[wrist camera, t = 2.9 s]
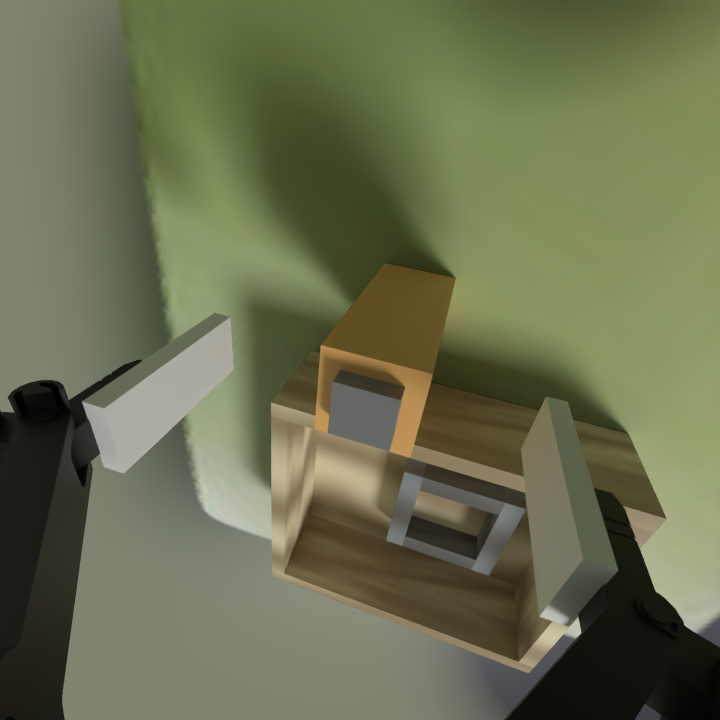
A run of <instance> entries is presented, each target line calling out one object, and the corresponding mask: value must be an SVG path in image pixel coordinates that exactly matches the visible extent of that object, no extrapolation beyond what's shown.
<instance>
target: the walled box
mask: <svg viewBox="0 0 720 720" xmlns="http://www.w3.org/2000/svg"><path fill="white" fill-rule="evenodd" d="M319 362H320V353H319V352H315V351H312V352H311V353H310V354H309V356H308V357H307V358H306V359H305V361H304V362H303V363H302V364H301V366H300V367H299V368H298V369H297V371H296V372H295V373H294V374H293V376H292V377H291V378H290V379H289V381H288V382H287V383H286V384H285V386H284V387H283V388H282V389H281V390H280V392H279V393H278V394H277V395H276V397H275V398H274V399H273V400H272V402H271V489H272V576H274V577H276V578H279V579H282V580H284V581H287V582H289V583H292V584H295V585H298V586H300V587H303V588H305V589H308V590H311V591H313V592H316V593H318V594H321V595H324V596H326V597H329V598H332V599H334V600H337V601H340V602H342V603H345V604H347V605H350V606H353V607H355V608H358V609H361V610H363V611H366V612H369V613H371V614H374V615H376V616H379V617H382V618H384V619H387V620H390V621H393V622H395V623H398V624H400V625H403V626H405V627H408V628H411V629H413V630H416V631H419V632H421V633H424V634H427V635H429V636H432V637H434V638H437V639H440V640H443V641H445V642H448V643H451V644H453V645H456V646H458V647H461V648H464V649H466V650H469V651H471V652H474V653H477V654H479V655H482V656H485V657H487V658H490V659H492V660H495V661H498V662H501V663H503V664H506V665H508V666H511V667H514V668H516V669H519V670H521V671H524V672H527V673H529V672H530V671H531V670H532V669H533V668H534V666H535V665H536V664H537V663H538V662H539V661H540V660H541V659H542V657H543V656H544V655H545V654H546V653H547V652H548V651H549V649H550V648H551V647H552V646H553V645H554V644H555V643H556V642H557V641H558V640H559V638H560V637H561V636H562V635H563V634H564V633H565V632H566V631H567V630H568V628H569V627H570V626H571V625H572V624H573V623H574V622H575V621H576V620H577V618H578V617H579V616H578V617H577V618H576V619H575V620H574V622H573V623H572V624H571V625H570V626H569V627H568V626H565V625H562V624H559V623H556V622H553V621H550V620H547V619H545V618H542V617H539V610H538V601H537V592H536V583H535V574H534V564H533V555H532V546H531V537H530V528H529V518H528V509H527V500H526V491H525V482H524V473H523V463H522V454H521V448H522V446H523V444H524V442H525V440H526V437H527V435H528V433H529V431H530V429H531V427H532V425H533V423H534V421H535V419H536V417H537V415H538V412H539V410H535V409H532V408H528V407H524V406H520V405H516V404H513V403H509V402H505V401H501V400H497V399H494V398H490V397H486V396H482V395H478V394H475V393H471V392H467V391H463V390H459V389H456V388H452V387H448V386H444V385H440V384H437V383H433V382H431V384H430V388H429V391H428V395H427V399H426V402H425V406H424V410H423V413H422V417H421V421H420V424H419V428H418V432H417V435H416V439H415V443H414V446H413V450H412V454H411V457H410V458H409V457H406V456H403V455H399V454H396V453H393V452H389V451H386V450H383V449H379V448H376V447H373V446H369V445H366V444H363V443H359V442H356V441H353V440H349V439H346V438H343V437H339V436H336V435H333V434H329V433H326V432H323V431H319V430H316V429H315V415H316V402H317V389H318V375H319ZM573 421H574V424H575V428H576V431H577V434H578V438H579V441H580V444H581V448H582V451H583V454H584V458H585V461H586V464H587V468H588V471H589V474H590V478H591V481H592V484H593V488H596V489H600V490H603V491H607V492H610V493H613V494H614V495H615V497H616V498H617V499H618V501H619V502H620V503H621V504H622V506H623V507H624V508H625V510H626V513H627V516H628V518H629V521H630V524H631V526H630V527H631V528H632V529H633V532H634V535H635V537H636V538H635V541H637V543H638V546H639V548H641V547H642V546H643V545H644V544H645V543H646V541H647V540H648V539H649V538H650V537H651V536H652V535H653V534H654V532H655V531H656V530H657V529H658V528H659V527H660V526H661V525H662V524H663V522H664V521H665V520H666V516H665V514H664V512H663V510H662V507H661V505H660V503H659V501H658V498H657V496H656V494H655V492H654V489H653V487H652V485H651V483H650V480H649V478H648V476H647V474H646V472H645V469H644V467H643V465H642V463H641V460H640V458H639V456H638V454H637V451H636V449H635V447H634V445H633V442H632V440H631V438H630V436H629V434H627V433H623V432H619V431H615V430H611V429H608V428H604V427H600V426H596V425H592V424H589V423H585V422H581V421H577V420H573Z"/></svg>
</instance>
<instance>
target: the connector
mask: <svg viewBox="0 0 720 720" xmlns="http://www.w3.org/2000/svg"><path fill="white" fill-rule="evenodd" d="M455 279H456V278H454V277H449V276H444V275H439V274H435V273H430V272H425V271H421V270H416V269H411V268H407V267H402V266H397V265H392V264H388V263H385V264H384V265H383V266H382V268H381V269H380V270H379V271H378V273H377V274H376V275H375V276H374V278H373V279H372V280H371V282H370V283H369V284H368V285H367V287H366V288H365V289H364V291H363V292H362V293H361V294H360V296H359V297H358V298H357V299H356V301H355V302H354V303H353V305H352V306H351V307H350V308H349V310H348V311H347V312H346V314H345V315H344V316H343V317H342V319H341V320H340V321H339V322H338V324H337V325H336V326H335V328H334V329H333V330H332V331H331V333H330V334H329V335H328V336H327V338H326V339H325V340H324V342H323V343H322V344H321V349H320V362H319V375H318V389H317V402H316V415H315V429H316V430H319V431H323V432H326V433H329V434H333V435H336V436H339V437H343V438H346V439H349V440H353V441H356V442H359V443H363V444H366V445H369V446H373V447H376V448H379V449H383V450H386V451H389V452H393V453H396V454H399V455H403V456H406V457H409V458H410V457H411V454H412V450H413V446H414V443H415V439H416V435H417V432H418V428H419V424H420V421H421V417H422V413H423V410H424V406H425V402H426V399H427V395H428V391H429V388H430V384H431V380H432V376H433V373H434V368H435V364H436V360H437V356H438V351H439V347H440V343H441V339H442V334H443V330H444V326H445V322H446V317H447V313H448V309H449V305H450V300H451V296H452V292H453V288H454V283H455Z"/></svg>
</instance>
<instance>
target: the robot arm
mask: <svg viewBox="0 0 720 720" xmlns="http://www.w3.org/2000/svg"><path fill="white" fill-rule="evenodd" d="M233 370H234V365H233V350H232V334H231V319H230V317H229V316H225V315H221V314H217V313H214V314H212V315H211V316H209V317H208V318H206V319H205V320H203V321H202V322H200V323H199V324H197V325H196V326H194V327H193V328H191V329H190V330H188V331H187V332H185V333H184V334H182V335H181V336H179V337H178V338H176V339H175V340H173V341H172V342H170V343H169V344H167V345H166V346H164V347H163V348H161V349H160V350H158V351H157V352H155V353H154V354H152V355H151V356H149V357H148V358H146V359H145V360H143V361H142V360H136V361H134V362H131V363H128V364H125V365H123V366H121V367H120V368H118V369H117V370H115V371H114V372H112V374H111V375H110V374H109V375H107V376H106V377H104V378H103V379H102V381H98V382H96V383H95V384H93V385H92V386H90V387H89V388H87V389H86V390H84V391H82V392H81V393H80V394H78V395H76V396H75V397H73V398H72V399H70V400H68V397H67V394H66V391H65V388H64V386H63V384H61V383H60V382H58V381H53V380H41V381H36V382H31V383H28V384H25V385H23V386H20V387H18V388H17V389H15V390H14V391H12V392H11V394H10V395H9V396H8V399H9V401H10V403H11V405H12V408H13V410H14V412H15V413H11V412H1V411H0V720H65V719H64V713H63V706H62V693H63V692H62V691H63V685H64V684H63V683H64V677H65V670H66V662H67V654H68V647H69V640H70V633H71V626H72V618H73V610H74V603H75V596H76V589H77V581H78V574H79V567H80V559H81V552H82V544H83V537H84V529H85V523H86V514H87V508H88V500H89V493H90V485H91V478H92V470H93V469H92V464H91V461H92V460H93V459H94V458H95V457H97V456H98V455H99V454H100V457H101V459H102V463H103V465H104V467H106V468H109V469H112V470H115V471H118V472H121V473H123V474H124V473H125V472H126V471H127V470H128V469H129V468H130V467H131V466H132V465H133V464H134V463H136V462H137V461H138V460H139V459H140V458H141V457H142V456H143V455H144V454H145V453H146V452H147V451H148V450H149V449H150V448H151V447H152V446H154V444H156V443H157V442H158V441H159V440H160V439H161V438H162V437H163V436H164V435H165V434H166V433H167V432H168V431H169V430H170V429H172V428H173V426H175V425H176V424H177V423H178V422H179V421H180V420H181V419H182V418H183V417H184V416H185V415H186V414H187V413H188V412H190V411H191V410H192V409H193V408H194V407H195V406H196V405H197V404H198V403H199V402H200V401H201V400H202V399H203V398H204V397H205V396H206V395H208V394H209V393H210V392H211V391H212V390H213V389H214V388H215V387H216V386H217V385H218V384H219V383H220V382H221V381H222V380H223V379H224V378H226V377H227V376H228V375H229V374H230V373H231V372H232V371H233ZM521 454H522V463H523V473H524V482H525V491H526V500H527V509H528V518H529V528H530V537H531V546H532V555H533V564H534V574H535V583H536V592H537V601H538V610H539V617H542V618H545V619H547V620H550V621H553V622H556V623H559V624H562V625H565V626H568V627H569V626H570V625H571V624H572V623H573V622H574V620H575V619H576V618H577V617H578V616H579V622H580V627H581V632H582V633H581V634H580V635H579V636H578V638H577V639H576V640H575V641H574V642H573V643H572V644H571V645H570V646H569V647H568V648H567V649H566V651H565V652H564V653H563V654H562V656H561V657H560V658H559V659H558V660H557V661H556V662H555V663H554V665H553V666H552V667H551V668H550V669H549V670H548V671H547V672H546V673H545V675H544V676H543V677H542V678H541V679H540V680H539V681H538V682H537V684H536V685H535V686H534V687H533V688H532V689H531V690H530V691H529V692H528V694H527V695H526V696H525V697H524V698H523V699H522V700H521V702H519V704H518V705H517V706H516V707H515V708H514V709H513V710H512V711H511V712H510V714H509V715H508V716H507V717H506V718H505V719H504V720H635V718H636V716H637V715H638V714H639V712H640V710H641V709H642V707H643V706H644V704H646V705H648V706H649V707H651V708H652V709H654V710H655V711H657V712H658V713H659V714H661V718H660V720H720V647H718V646H716V645H715V644H713V643H711V642H710V641H708V640H706V639H705V638H703V637H701V636H700V635H698V634H696V633H695V632H693V631H692V630H690V629H689V628H687V627H686V626H684V623H683V620H682V619H681V617H680V616H679V614H678V612H677V611H676V609H675V608H674V607H673V606H672V605H671V604H670V603H669V602H668V601H667V600H666V599H665V598H664V597H662V596H661V595H660V594H658V593H657V592H656V591H655V589H654V586H653V584H652V581H651V578H650V575H649V573H648V570H647V567H646V565H645V562H644V559H643V556H642V554H641V551H640V548H639V546H638V543H637V541H635V538H636V537H635V535H634V532H633V529H632V528H631V527H630V526H631V524H630V521H629V518H628V516H627V513H626V510H625V508H624V507H623V506H622V504H621V503H620V502H619V501H618V499H617V498H616V497H615V495H614V494H613V493H610V492H607V491H603V490H600V489H596V488H593V484H592V481H591V478H590V474H589V471H588V468H587V464H586V461H585V458H584V454H583V451H582V448H581V444H580V441H579V438H578V434H577V431H576V428H575V424H574V421H573V418H572V415H571V411H570V408H569V405H568V402H567V401H563V400H559V399H555V398H551V397H547V396H546V398H545V400H544V402H543V404H542V406H541V408H540V410H539V412H538V415H537V417H536V419H535V421H534V423H533V425H532V427H531V429H530V431H529V433H528V435H527V437H526V440H525V442H524V444H523V446H522V448H521Z"/></svg>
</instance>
